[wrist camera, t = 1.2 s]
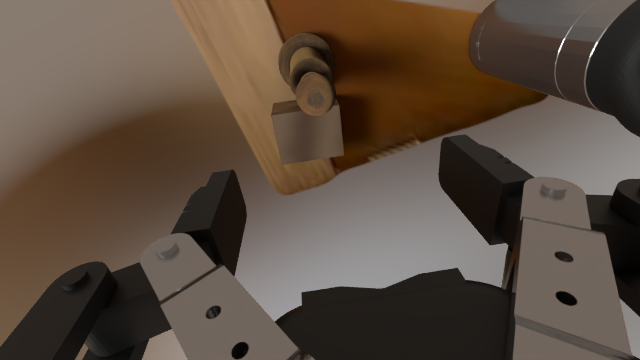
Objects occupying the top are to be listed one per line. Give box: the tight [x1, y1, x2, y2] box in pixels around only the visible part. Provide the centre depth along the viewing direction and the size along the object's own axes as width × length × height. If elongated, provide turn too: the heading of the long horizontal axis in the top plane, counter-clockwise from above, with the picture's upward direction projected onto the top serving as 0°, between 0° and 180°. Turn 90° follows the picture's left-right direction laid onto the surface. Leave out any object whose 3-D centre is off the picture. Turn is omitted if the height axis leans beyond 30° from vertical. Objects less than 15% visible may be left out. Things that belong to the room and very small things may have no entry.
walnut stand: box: [271, 100, 344, 165], centre depth 38 cm, size 8×6×5 cm
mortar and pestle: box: [279, 33, 336, 116], centre depth 29 cm, size 7×6×18 cm
